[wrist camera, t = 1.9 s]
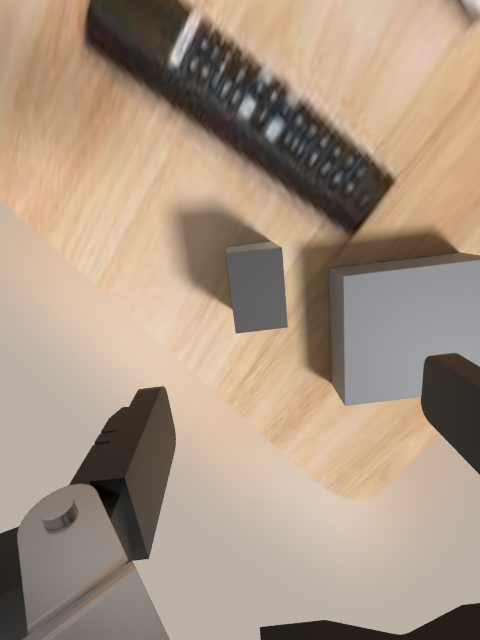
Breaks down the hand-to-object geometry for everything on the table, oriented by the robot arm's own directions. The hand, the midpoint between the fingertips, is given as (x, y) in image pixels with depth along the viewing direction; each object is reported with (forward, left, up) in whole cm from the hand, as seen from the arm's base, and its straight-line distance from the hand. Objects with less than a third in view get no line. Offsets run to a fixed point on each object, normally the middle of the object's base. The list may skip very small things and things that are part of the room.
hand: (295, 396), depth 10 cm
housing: (0, 0, -20) cm, 20 cm away
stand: (+6, +13, -20) cm, 25 cm away
